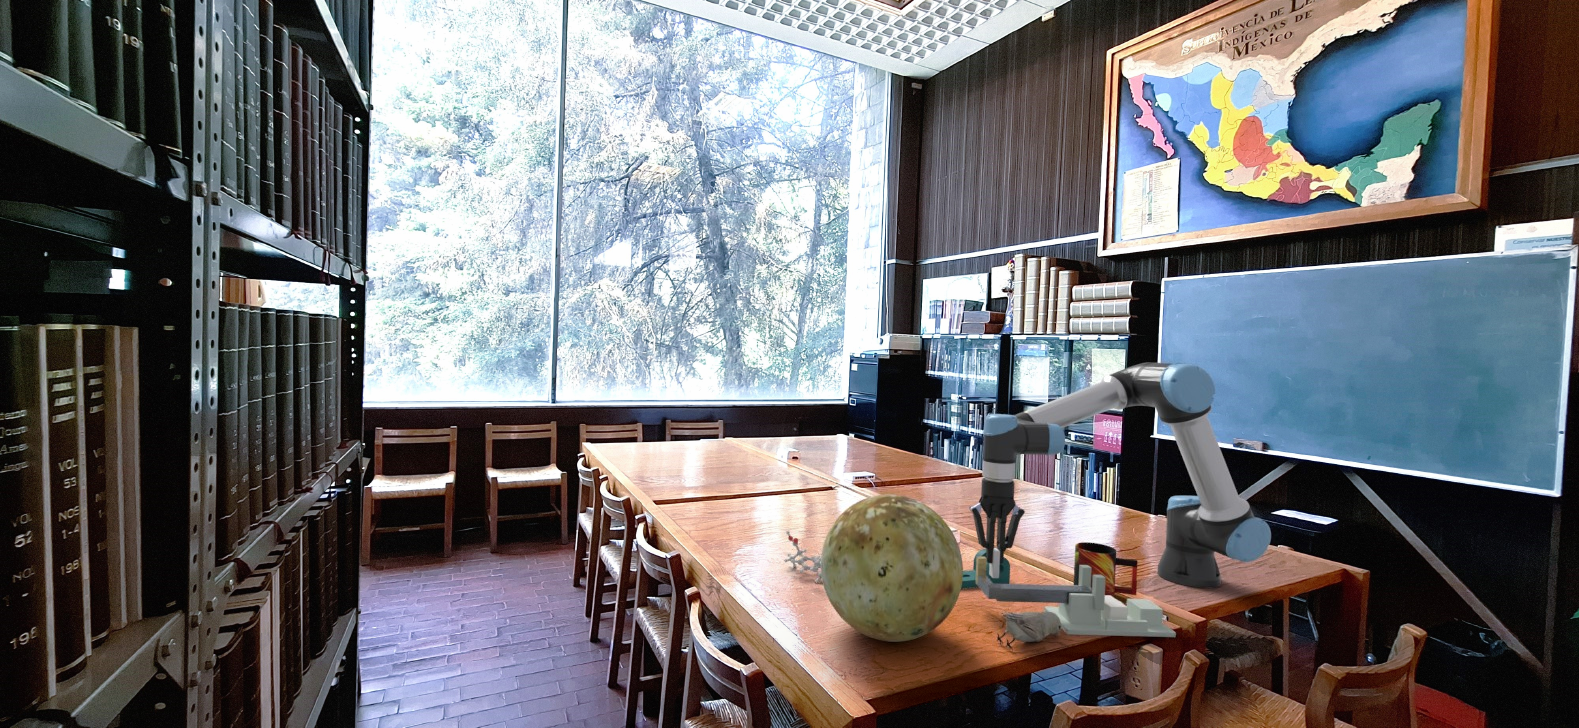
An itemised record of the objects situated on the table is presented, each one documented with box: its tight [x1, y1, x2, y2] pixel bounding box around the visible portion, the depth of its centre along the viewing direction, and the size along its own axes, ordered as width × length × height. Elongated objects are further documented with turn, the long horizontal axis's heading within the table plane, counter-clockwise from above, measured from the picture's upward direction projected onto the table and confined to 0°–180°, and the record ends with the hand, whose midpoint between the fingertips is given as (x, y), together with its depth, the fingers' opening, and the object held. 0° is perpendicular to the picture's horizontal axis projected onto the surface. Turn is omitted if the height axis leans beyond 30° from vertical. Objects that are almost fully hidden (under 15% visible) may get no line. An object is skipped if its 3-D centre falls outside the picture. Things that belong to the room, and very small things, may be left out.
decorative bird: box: [996, 611, 1062, 652], centre depth 140 cm, size 5×16×8 cm, turn 114°
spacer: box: [1101, 595, 1128, 621], centre depth 152 cm, size 4×7×4 cm
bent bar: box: [976, 556, 1092, 604], centre depth 154 cm, size 24×10×7 cm, turn 91°
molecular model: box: [784, 530, 822, 583], centre depth 177 cm, size 19×10×10 cm, turn 26°
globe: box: [820, 494, 964, 643], centre depth 141 cm, size 30×30×30 cm
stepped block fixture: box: [1043, 565, 1177, 638], centre depth 151 cm, size 24×13×12 cm, turn 91°
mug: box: [1073, 541, 1138, 598], centre depth 170 cm, size 10×14×12 cm
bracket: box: [961, 548, 1011, 590], centre depth 175 cm, size 18×7×8 cm, turn 108°
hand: (994, 576), depth 159 cm, fingers closed
